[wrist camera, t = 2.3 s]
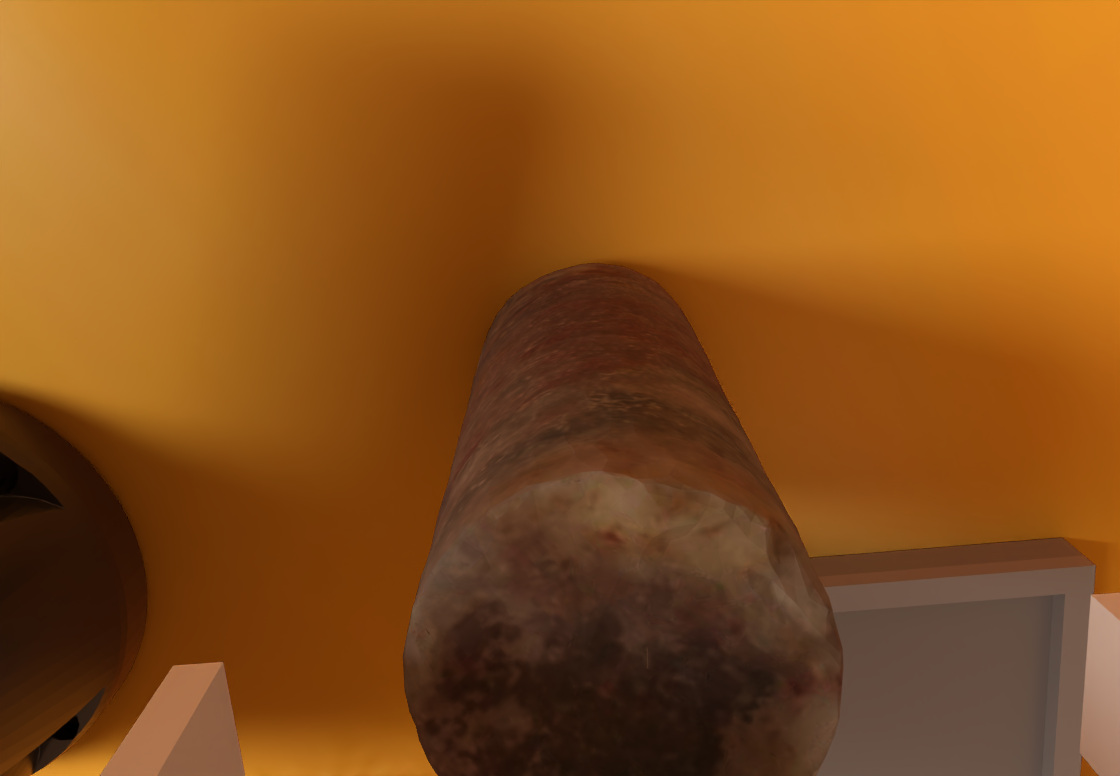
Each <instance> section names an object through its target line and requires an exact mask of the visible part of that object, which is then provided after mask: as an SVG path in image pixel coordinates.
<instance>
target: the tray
mask: <svg viewBox="0 0 1120 776" xmlns="http://www.w3.org/2000/svg"><path fill="white" fill-rule="evenodd" d="M810 561H811V563H812V565H813V567H814V570H815V572H816V574H817V575H818V577H819V579H820V581H821V583H822V585H823V587H824V589H825V591H826V592H827V594H828V596H829V598H830V602H831V606H832V610H833V614H834V619H835V623H836V626H837V630H838V633H839V637H840V641H841V644H842V648H843V680H842V694H841V705H840V717H839V721H838V725H837V729H836V732H835V735H834V737H833V740H832V742H831V745H830V747H829V750H828V752H827V755H826V757H825V759H824V761H823V763H822V765H821V767H820V769H819V771H818V773H817V775H816V776H1080V772H1081V758H1082V755H1081V754H1080V738H1081V725H1082V711H1083V697H1084V683H1085V669H1086V655H1087V642H1088V628H1089V614H1090V600H1091V595H1094V584H1095V571H1096V565H1095V564H1094V563H1092V562H1091V561H1090V560H1089V559H1088V558H1086V557H1085V556H1084V555H1083V554H1082V553H1080V552H1079V551H1078V550H1077V549H1076V548H1074V547H1073V546H1072V545H1071V544H1070V543H1068V542H1067V541H1066V540H1065V539H1064V538H1051V539H1039V540H1027V541H1014V542H1002V543H989V544H977V545H965V546H952V547H940V548H927V549H915V550H903V551H890V552H878V553H865V554H853V555H841V556H828V557H816V558H810Z"/></svg>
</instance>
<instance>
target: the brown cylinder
mask: <svg viewBox="0 0 1120 776" xmlns="http://www.w3.org/2000/svg"><path fill="white" fill-rule="evenodd" d="M403 667H404V686H405V693H406V698H407V702H408V707H409V711H410V714H411V716H412V718H413V721H414V723H415V725H416V729H417V733H418V737H419V741H420V743H421V745H422V748H423V750H424V752H425V754H426V757H427V759H428V761H429V763H430V764H431V766H432V768H433V769H434V771H435V772H436V774H437V775H438V776H816V775H817V773H818V771H819V769H820V767H821V765H822V763H823V761H824V759H825V757H826V755H827V752H828V750H829V747H830V745H831V742H832V740H833V737H834V735H835V732H836V729H837V725H838V721H839V717H840V705H841V694H842V680H843V648H842V644H841V641H840V637H839V633H838V630H837V626H836V623H835V619H834V614H833V610H832V606H831V602H830V598H829V596H828V594H827V592H826V591H825V589H824V587H823V585H822V583H821V581H820V579H819V577H818V575H817V574H816V572H815V570H814V567H813V565H812V563H811V561H810V558H809V556H808V553H807V551H806V549H805V547H804V544H803V542H802V540H801V538H800V536H799V533H798V531H797V528H796V526H795V525H794V523H793V521H792V520H791V518H790V516H789V515H788V513H787V511H786V509H785V507H784V505H783V504H782V502H781V500H780V498H779V496H778V494H777V492H776V490H775V488H774V487H773V485H772V484H771V482H770V481H769V479H768V477H767V475H766V473H765V471H764V469H763V467H762V465H761V463H760V461H759V459H758V457H757V455H756V453H755V451H754V449H753V447H752V445H751V443H750V441H749V439H748V437H747V435H746V433H745V431H744V430H743V428H742V426H741V424H740V422H739V420H738V418H737V416H736V414H735V413H734V411H733V409H732V407H731V405H730V403H729V401H728V399H727V398H726V396H725V394H724V392H723V390H722V387H721V385H720V383H719V381H718V379H717V377H716V375H715V373H714V371H713V369H712V366H711V364H710V362H709V359H708V357H707V355H706V354H705V352H704V350H703V348H702V346H701V344H700V342H699V340H698V338H697V336H696V334H695V332H694V330H693V328H692V327H691V325H690V323H689V322H688V320H687V318H686V316H685V315H684V313H683V311H682V310H681V308H680V307H679V306H678V304H677V303H676V302H675V301H674V300H673V298H672V297H671V296H670V295H669V294H668V293H667V292H666V291H665V290H664V289H663V288H662V287H661V286H660V285H659V284H658V283H656V282H655V281H654V280H652V279H650V278H648V277H646V276H644V275H642V274H640V273H638V272H636V271H633V270H631V269H629V268H626V267H622V266H617V265H606V264H600V263H593V264H582V265H577V266H573V267H569V268H565V269H561V270H558V271H555V272H553V273H550V274H547V275H545V276H542V277H540V278H538V279H536V280H535V281H533V282H532V283H530V284H528V285H527V286H525V287H523V288H522V289H520V290H519V291H518V292H516V293H515V294H514V295H513V296H512V297H511V298H509V299H508V300H507V302H506V303H505V305H504V306H503V307H502V309H501V310H500V311H499V312H498V314H497V315H496V317H495V319H494V321H493V323H492V325H491V328H490V330H489V332H488V334H487V337H486V340H485V342H484V345H483V348H482V353H481V356H480V359H479V363H478V367H477V370H476V373H475V376H474V380H473V385H472V389H471V394H470V399H469V403H468V407H467V411H466V414H465V418H464V421H463V425H462V428H461V433H460V436H459V440H458V444H457V448H456V452H455V456H454V459H453V463H452V467H451V473H450V478H449V482H448V485H447V488H446V491H445V494H444V497H443V501H442V504H441V508H440V511H439V514H438V518H437V523H436V527H435V532H434V537H433V542H432V546H431V549H430V552H429V556H428V559H427V562H426V565H425V568H424V571H423V573H422V576H421V580H420V583H419V587H418V591H417V595H416V599H415V602H414V605H413V609H412V613H411V618H410V623H409V628H408V633H407V637H406V642H405V648H404V653H403Z"/></svg>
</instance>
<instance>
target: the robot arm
mask: <svg viewBox="0 0 1120 776" xmlns="http://www.w3.org/2000/svg"><path fill="white" fill-rule="evenodd" d="M146 612H147V587H146V577H145V571H144V565H143V561H142V557H141V553H140V549H139V546H138V543H137V540H136V537H135V535H134V532H133V530H132V527H131V525H130V523H129V521H128V519H127V517H126V515H125V513H124V511H123V509H122V507H121V505H120V504H119V502H118V501H117V499H116V497H115V496H114V494H113V493H112V491H111V490H110V488H109V487H108V486H107V484H106V483H105V481H104V480H103V479H102V478H101V476H100V475H99V474H98V473H97V471H96V470H95V469H94V468H93V467H92V466H91V465H90V464H89V463H88V461H87V460H86V459H85V458H84V457H83V456H82V455H81V454H80V453H79V452H78V451H76V450H75V449H74V448H73V447H72V446H71V445H70V444H69V443H68V442H66V441H65V440H64V439H63V438H61V437H60V436H59V435H58V434H56V433H55V432H54V431H52V430H51V429H49V428H48V427H47V426H45V425H44V424H42V423H41V422H39V421H38V420H36V419H34V418H33V417H31V416H30V415H28V414H26V413H24V412H22V411H20V410H19V409H17V408H15V407H13V406H11V405H9V404H6V403H4V402H2V401H0V776H31V775H32V774H34V773H35V772H37V771H39V770H40V769H42V768H44V767H45V766H47V765H48V764H50V763H51V762H53V761H54V760H55V759H57V758H58V757H60V756H61V755H62V754H63V753H65V752H66V751H67V750H68V749H69V748H70V747H72V746H73V745H74V744H75V743H76V742H77V741H78V740H79V739H80V738H81V737H82V736H83V735H84V734H85V733H86V732H87V731H88V730H89V728H90V727H91V726H92V725H93V724H94V722H95V721H96V720H97V719H98V717H99V716H100V714H101V713H102V712H103V710H104V709H105V708H106V706H107V705H108V703H109V702H110V701H111V699H112V698H113V696H114V695H115V694H116V692H117V691H118V689H119V688H120V687H121V685H122V684H123V682H124V681H125V679H126V677H127V675H128V674H129V672H130V670H131V668H132V666H133V663H134V661H135V659H136V656H137V654H138V651H139V648H140V645H141V641H142V637H143V633H144V628H145V622H146ZM1080 754H1081V755H1082V756H1083V757H1084V759H1085V760H1086V761H1087V762H1088V763H1089V765H1090V766H1091V767H1092V768H1093V770H1094V771H1095V772H1096V773H1097V774H1098V776H1120V593H1107V594H1094V595H1091V600H1090V614H1089V628H1088V642H1087V655H1086V669H1085V683H1084V697H1083V711H1082V725H1081V738H1080ZM100 776H245V772H244V767H243V761H242V756H241V751H240V746H239V741H238V736H237V730H236V725H235V720H234V715H233V710H232V704H231V699H230V694H229V689H228V684H227V679H226V673H225V668H224V663H223V662H213V663H200V664H187V665H174V666H172V668H171V669H170V671H169V672H168V674H167V675H166V677H165V678H164V680H163V681H162V683H161V684H160V686H159V687H158V689H157V691H156V692H155V694H154V695H153V697H152V698H151V700H150V701H149V703H148V704H147V706H146V707H145V709H144V710H143V712H142V713H141V715H140V716H139V718H138V719H137V721H136V722H135V724H134V725H133V727H132V728H131V730H130V731H129V733H128V734H127V736H126V737H125V739H124V740H123V742H122V743H121V745H120V746H119V748H118V749H117V751H116V752H115V754H114V755H113V757H112V758H111V760H110V761H109V763H108V764H107V766H106V767H105V769H104V770H103V772H102V773H101V775H100Z"/></svg>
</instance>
